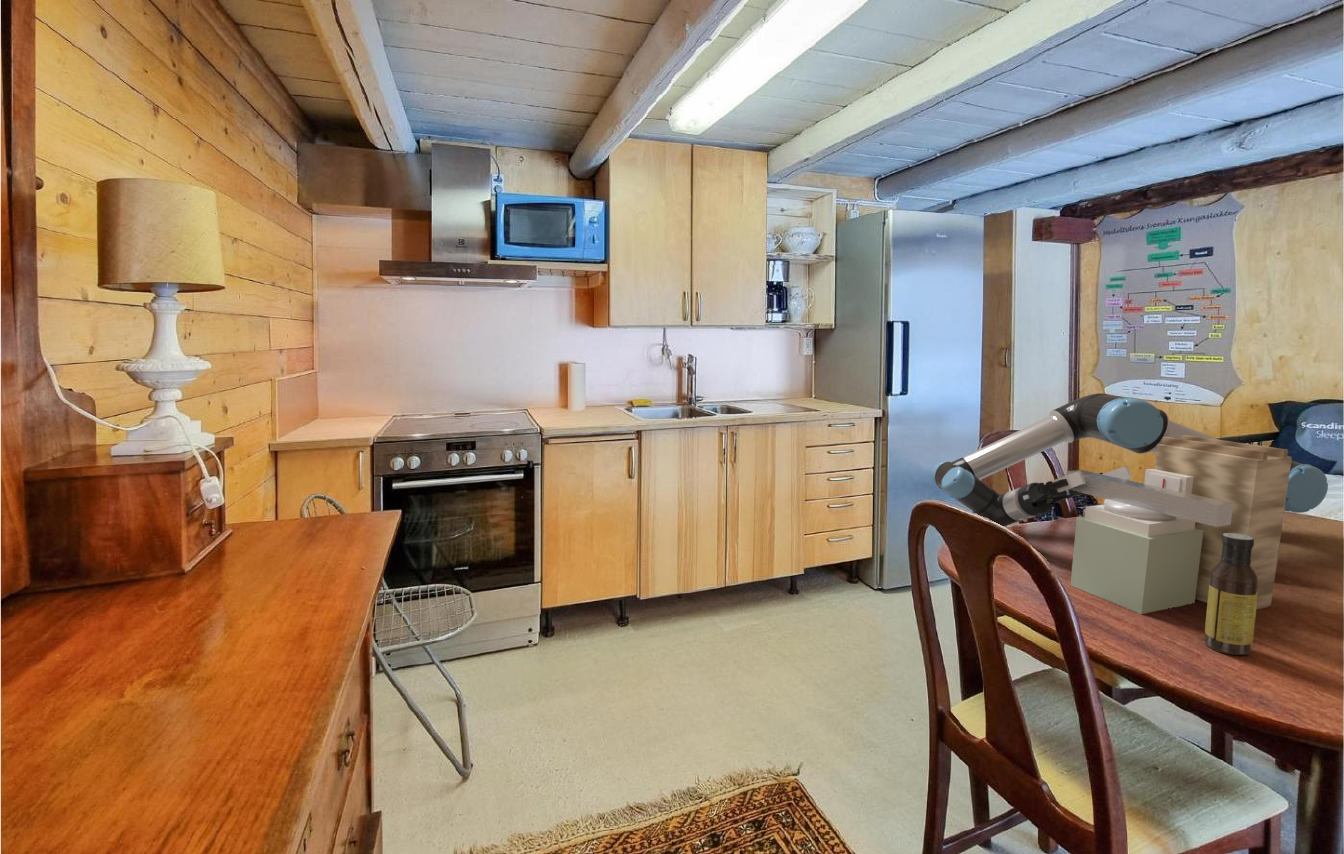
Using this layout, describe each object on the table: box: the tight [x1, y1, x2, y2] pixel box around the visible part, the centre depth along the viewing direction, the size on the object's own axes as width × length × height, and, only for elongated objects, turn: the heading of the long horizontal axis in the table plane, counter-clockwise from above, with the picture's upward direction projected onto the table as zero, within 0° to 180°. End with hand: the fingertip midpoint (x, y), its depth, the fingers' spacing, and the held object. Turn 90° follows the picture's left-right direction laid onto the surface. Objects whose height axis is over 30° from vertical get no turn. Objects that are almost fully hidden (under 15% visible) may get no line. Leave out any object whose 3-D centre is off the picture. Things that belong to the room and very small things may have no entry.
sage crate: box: [1070, 516, 1203, 615], centre depth 132 cm, size 15×15×15 cm
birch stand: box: [1154, 435, 1293, 611], centre depth 131 cm, size 18×10×32 cm, turn 19°
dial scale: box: [1084, 468, 1195, 537], centre depth 130 cm, size 13×15×10 cm
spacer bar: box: [1066, 469, 1233, 527], centre depth 130 cm, size 30×4×4 cm, turn 19°
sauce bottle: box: [1204, 533, 1258, 656], centre depth 109 cm, size 6×6×20 cm
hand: (1106, 474), depth 137 cm, fingers open, 13 cm apart
